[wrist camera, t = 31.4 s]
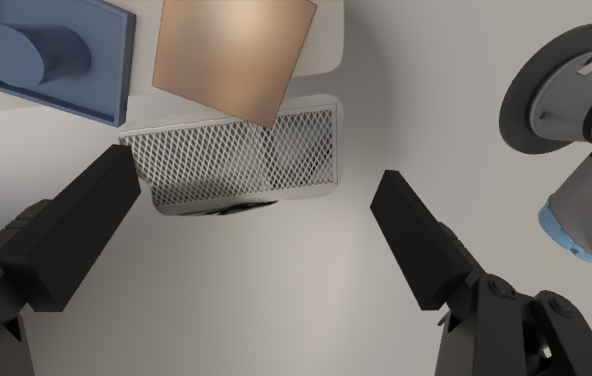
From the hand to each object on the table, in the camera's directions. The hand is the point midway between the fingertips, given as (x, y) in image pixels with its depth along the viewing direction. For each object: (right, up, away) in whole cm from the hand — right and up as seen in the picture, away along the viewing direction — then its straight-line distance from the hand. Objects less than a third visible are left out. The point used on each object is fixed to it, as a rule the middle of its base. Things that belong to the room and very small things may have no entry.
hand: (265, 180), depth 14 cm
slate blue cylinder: (-29, +18, +20) cm, 40 cm away
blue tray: (-29, +18, +21) cm, 40 cm away
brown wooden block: (-6, +20, +22) cm, 31 cm away
